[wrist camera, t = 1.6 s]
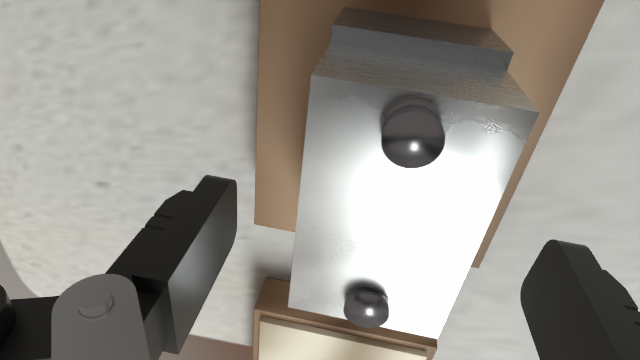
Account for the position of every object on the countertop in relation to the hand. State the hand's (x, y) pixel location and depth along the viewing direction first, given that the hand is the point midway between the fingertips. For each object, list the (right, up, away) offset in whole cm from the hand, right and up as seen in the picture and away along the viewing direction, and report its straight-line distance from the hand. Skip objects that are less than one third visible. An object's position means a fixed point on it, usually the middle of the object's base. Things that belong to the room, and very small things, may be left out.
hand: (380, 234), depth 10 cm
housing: (+1, +3, +6) cm, 6 cm away
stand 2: (0, -11, +18) cm, 21 cm away
